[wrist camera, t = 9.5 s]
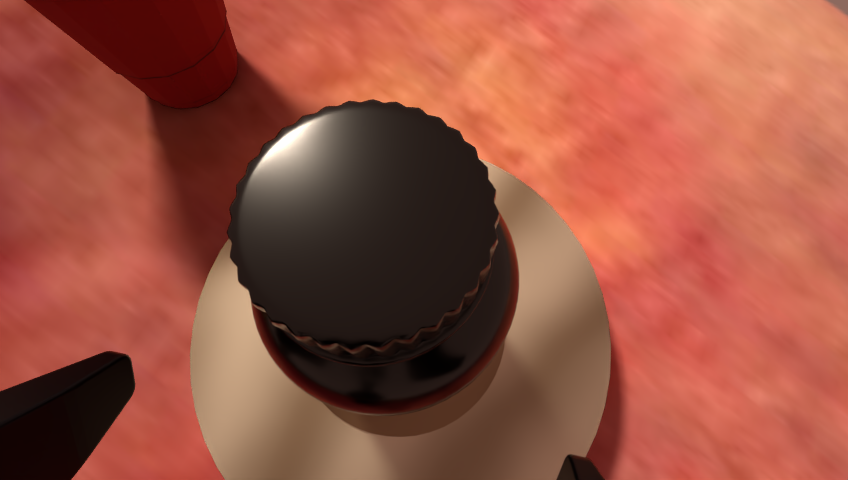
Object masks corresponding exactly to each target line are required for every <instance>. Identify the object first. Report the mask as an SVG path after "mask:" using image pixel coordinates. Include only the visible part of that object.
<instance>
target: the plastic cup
mask: <svg viewBox="0 0 848 480" xmlns="http://www.w3.org/2000/svg"><path fill="white" fill-rule="evenodd" d="M25 1H26V2H27V3H28V4H30V5H31V6H32V7H33V8H35V9H36V10H37V11H38V12H40V13H41V14H42V15H44V16H45V17H46V18H47V19H49V20H50V21H51V22H52V23H54V24H55V25H56V26H57V27H59V28H60V29H61V30H62V31H64V32H65V33H66V34H67V35H69V36H70V37H71V38H73V39H74V40H75V41H76V42H78V43H79V44H80V45H81V46H83V47H84V48H85V49H86V50H88V51H89V52H90V53H91V54H93V55H94V56H95V57H96V58H98V59H99V60H100V61H102V62H103V63H104V64H105V65H107V66H108V67H109V68H110V69H112V70H113V71H114V72H116V73H117V74H121V75H122V76H124V77H125V78H126V79H127V80H129V81H130V82H131V83H132V84H134V85H135V86H136V87H137V88H139V89H140V90H141V91H143V92H144V93H145V94H146V95H148V96H149V97H150V98H151V99H153V100H156V101H158V102H159V103H161V104H162V105H166V106H170V107H174V108H178V109H182V108H192V107H199V106H201V105H204V104H206V103H209V102H211V101H213V100H216V99H217V98H218V97H219V96H220V95H222V94H223V93H224V92H225V91H226V90H227V89H228V88H230V86H231V84H232V82H233V80H234V78H235V76H236V75H237V65H238V58H237V49H236V46H235V43H234V40H233V37H232V34H231V30H230V27H229V24H228V21H227V18H226V8H225V5H224V1H223V0H25Z"/></svg>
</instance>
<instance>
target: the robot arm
mask: <svg viewBox="0 0 848 480" xmlns="http://www.w3.org/2000/svg"><path fill="white" fill-rule="evenodd" d="M134 389H135V379H134V373H133V367H132V361H131V358H130V357H129V356H128V355H126V354H123V353H118V352H114V351H106V352H103V353H100V354H98V355H95V356H92V357H90V358H87V359H84V360H82V361H79V362H77V363H74V364H71V365H69V366H66V367H63V368H61V369H58V370H55V371H53V372H50V373H48V374H45V375H42V376H40V377H37V378H34V379H32V380H29V381H26V382H24V383H21V384H19V385H16V386H13V387H11V388H8V389H5V390H3V391H0V480H71V479H72V478H73V477H74V475H75V474H76V473H77V472H78V470H79V469H80V468H81V467H82V465H83V464H84V463H85V461H86V460H87V459H88V457H89V456H90V455H91V453H92V452H93V450H94V449H95V448H96V446H97V445H98V443H99V442H100V441H101V439H102V438H103V436H104V435H105V433H106V432H107V431H108V429H109V428H110V426H111V425H112V424H113V422H114V421H115V419H116V418H117V416H118V415H119V414H120V412H121V411H122V409H123V408H124V407H125V405H126V404H127V402H128V401H129V399H130V398H131V396H132V395H133V392H134ZM556 480H605V479H604V478H603V476H602V475H601V473H600V472H599V471H598V469H597V468H596V466H595V465H594V463H593V462H592V461H591V460H590V459H588V458H586V457H582V456H577V455H573V454H569V455H567V456H566V458H565V460H564V462H563V464H562V467H561V469H560V472H559V474H558V477H557V479H556Z"/></svg>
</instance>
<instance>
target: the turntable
mask: <svg viewBox="0 0 848 480" xmlns="http://www.w3.org/2000/svg"><path fill="white" fill-rule="evenodd" d="M478 159H479V158H478ZM479 160H481V159H479ZM481 161H482V162H483V163H484V164H485V165H486V166H487V167H488V174H489V178H488V179H489V181H490V182H491V183H492V184H493V186H494V188H495V189H496V199H495V205H496V207H497V209H498V211H499V212H500V214H501V215H502V217H503V219H504V221H505V223H506V224H507V227H508V229H509V231H510V234H511V236H512V239H513V242H514V245H515V249H516V254H517V259H518V266H519V295H518V302H517V307H516V312H515V315H514V318H513V321H512V325H511V327H510V329H509V332H508V334H507V336H506V339H505V340H504V342H503V344H502V346H501V347H500V349H499V351H498V353H497V354H496V356H495V357H494V358H493V360H492V361H491V363H490V364H489V365H488V366H487V367H486V369H485V370H484V371H483V372H482V373H481V374H480V375H479V376H478V377H477V378H476V379H475V380H474V381H473V382H472V383H471V384H469V385H468V386H467V387H465V388H464V389H463V390H461V391H460V392H459V393H457V394H456V395H454V396H452V397H451V398H449V399H447V400H445V401H443V402H441V403H439V404H437V405H435V406H432V407H429V408H426V409H424V410H421V411H417V412H412V413H408V414H401V415H393V416H372V415H364V414H358V413H353V412H348V411H345V410H342V409H338V408H335V407H332V406H330V405H328V404H325V403H323V402H321V401H319V400H317V399H315V398H314V397H312V396H310V395H308V394H307V393H305V392H304V391H303V390H301V389H300V388H299V387H297V386H296V385H295V384H294V383H293V382H292V381H290V380H289V379H288V378H287V377H286V376H285V375H284V374H283V372H282V371H281V370H280V369H279V368H278V367H277V365H276V364H275V363H274V361H273V360H272V358H271V357H270V355H269V354H268V352H267V350H266V348H265V346H264V345H263V343H262V340H261V338H260V336H259V333H258V331H257V328H256V324H255V321H254V318H253V312H252V307H251V298H250V295H249V291H248V290H246V289H245V288H244V287H243V286H242V285H241V284H240V283H239V282H238V275H237V266H236V265H235V264H234V263H233V261H232V260H231V259H230V250H231V245H232V243H231V240H230V239H228V240H227V242H226V243H225V245H224V246H223V248H222V249H221V251H220V253H219V254H218V256H217V258H216V260H215V262H214V264H213V266H212V268H211V270H210V272H209V274H208V277H207V279H206V282H205V285H204V288H203V290H202V293H201V296H200V298H199V302H198V306H197V311H196V315H195V319H194V324H193V330H192V340H191V350H190V371H191V387H192V393H193V399H194V405H195V411H196V415H197V418H198V421H199V425H200V428H201V431H202V434H203V438H204V441H205V443H206V445H207V447H208V449H209V451H210V453H211V455H212V458H213V460H214V462H215V464H216V466H217V468H218V469H219V471H220V472H221V474H222V476H223V477H224V479H225V480H556V479H557V477H558V474H559V472H560V469H561V467H562V464H563V462H564V460H565V458H566V456H567V455H569V454H573V455H577V456H582V457H586V455H587V453H588V451H589V449H590V446H591V444H592V442H593V440H594V438H595V436H596V434H597V430H598V427H599V424H600V421H601V417H602V414H603V411H604V408H605V404H606V398H607V392H608V386H609V380H610V364H611V342H610V332H609V321H608V316H607V312H606V307H605V303H604V298H603V294H602V291H601V288H600V286H599V283H598V280H597V277H596V275H595V272H594V269H593V267H592V265H591V263H590V261H589V259H588V257H587V255H586V253H585V251H584V249H583V247H582V246H581V244H580V243H579V241H578V240H577V238H576V237H575V235H574V234H573V232H572V231H571V229H570V228H569V226H568V225H567V224H566V222H565V221H564V220H563V219H562V218H561V217H560V216H559V214H558V213H557V212H556V211H555V210H554V209H553V207H552V206H551V205H550V204H548V203H547V202H546V201H545V200H544V199H543V198H542V197H541V196H540V195H539V194H537V193H536V192H535V191H534V190H533V189H532V188H530V187H529V186H527V185H526V184H525V183H523V182H522V181H520V180H519V179H518V178H516V177H515V176H513V175H512V174H510V173H508V172H506V171H504V170H503V169H501V168H499V167H497V166H495V165H493V164H491V163H489V162H486V161H484V160H481Z"/></svg>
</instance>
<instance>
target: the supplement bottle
mask: <svg viewBox="0 0 848 480" xmlns="http://www.w3.org/2000/svg"><path fill="white" fill-rule="evenodd" d="M488 178H489V174H488V167H487V166H486V165H485V164H484V163H483V162H482V161H481V160H479V159H478V155H477V151H476V148H475V147H473V146H472V145H471V144H469V143H467V142H466V141H464V139H463V137H462V135H461V133H460V131H458V130H456V129H454V128H451V127H448V126H447V125H446V124H445V122H444V121H443V120H442V119H441V118H439V117H436V116H431V115H427V114H426V113H425V112H424V111H423V110H421V109H420V108H414V107H405V106H403V105H402V104H400V103H398V102H388V103H382V102H380V101H377V100H374V99H372V100H368V101H364V102H355V101H348V102H345V103H343V104H342V105H339V106H327V107H324V108H322V109H321V110H320V111H318V112H317V113H315V114H309V115H305V116H302V117H301V118H300V119H299V120H298V121H297V122H296V123H295V124H293V125H290V126H287V127H285V128H282V129H281V131H280V132H279V133H278V135H277V136H276V138H274V139H273V140H271V141H269V142H267V143H265V144H264V145H263V147H262V149H261V152H260V154H259V155H258V156H257V157H255V158H254V159H253V160H252V161H251V162H249V163H248V166H247V170H246V175H245V176H244V177H243V178H242V179H241V180H240V181H239V183H238V184H237V187H236V192H237V194H236V198H235V199H234V201H233V202H232V204H231V206H230V208H229V209H230V215H231V219H232V220H231V222H230V225H229V227H228V231H227V234H228V237H229V239H230V240H231V243H232V245H231V250H230V259H231V260H232V261H233V263H234V264H235V265H236V266H237V275H238V282H239V283H240V284H241V285H242V286H243V287H244V288H245V289H246V290H248V291H249V295H250V298H251V307H252V312H253V318H254V321H255V324H256V328H257V331H258V333H259V336H260V338H261V340H262V343H263V345H264V346H265V348H266V350H267V352H268V354H269V355H270V357H271V358H272V360H273V361H274V363H275V364H276V365H277V367H278V368H279V369H280V370H281V371H282V372H283V374H284V375H285V376H286V377H287V378H288V379H289V380H290V381H292V382H293V383H294V384H295V385H296V386H297V387H299V388H300V389H301V390H303V391H304V392H305V393H307V394H308V395H310V396H312V397H314V398H315V399H317V400H319V401H321V402H323V403H325V404H328V405H330V406H332V407H335V408H338V409H342V410H345V411H348V412H353V413H358V414H364V415H372V416H393V415H401V414H408V413H412V412H417V411H421V410H424V409H426V408H429V407H432V406H435V405H437V404H439V403H441V402H443V401H445V400H447V399H449V398H451V397H452V396H454V395H456V394H457V393H459V392H460V391H461V390H463V389H464V388H465V387H467V386H468V385H469V384H471V383H472V382H473V381H474V380H475V379H476V378H477V377H478V376H479V375H480V374H481V373H482V372H483V371H484V370H485V369H486V367H487V366H488V365H489V364H490V363H491V361H492V360H493V358H494V357H495V356H496V354H497V353H498V351H499V349H500V347H501V346H502V344H503V342H504V340H505V339H506V336H507V334H508V332H509V329H510V327H511V325H512V321H513V318H514V315H515V312H516V307H517V302H518V295H519V266H518V259H517V254H516V249H515V245H514V242H513V239H512V236H511V234H510V231H509V229H508V227H507V224H506V223H505V221H504V219H503V217H502V215H501V214H500V212H499V211H498V209H497V207H496V205H495V199H496V189H495V188H494V186H493V184H492V183H491V182H490V181H489V179H488Z"/></svg>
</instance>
